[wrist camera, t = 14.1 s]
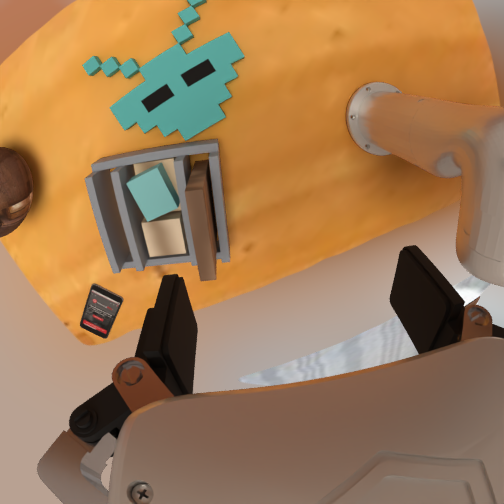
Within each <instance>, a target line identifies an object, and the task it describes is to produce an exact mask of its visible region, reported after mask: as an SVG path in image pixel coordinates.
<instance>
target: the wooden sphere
mask: <svg viewBox="0 0 504 504" xmlns="http://www.w3.org/2000/svg"><path fill="white" fill-rule="evenodd" d="M32 198H33V179H32V174H31V171H30V169H29V166H28V165H27V163H26V161H25V160H24V159H23V158H22V157H21V156H20V155H19V154H18V153H17V152H15V151H13V150H11V149H9V148H4V147H0V237H3V236H6V235H8V234H9V233H11V232H13V231H14V230H15V229H16V228H17V227H18V226H19V225H20V224H21V223H22V222H23V220H24V219H25V217H26V215H27V213H28V211H29V209H30V206H31V202H32Z"/></svg>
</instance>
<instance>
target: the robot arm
mask: <svg viewBox="0 0 504 504" xmlns="http://www.w3.org/2000/svg"><path fill="white" fill-rule="evenodd" d="M366 88H367V91H366ZM351 115H352V118H351ZM346 121H347V127H348V130H349V133H350V135H351V137H352V139H353V140H354V141H355V143H356V144H357V145H358V146H359V147H360V148H362V149H363V150H365V151H367V152H369V153H371V154H374V155H379V156H385V155H390V154H394V155H396V156H398V157H400V158H402V159H404V160H406V161H408V162H410V163H412V164H414V165H416V166H418V167H419V168H421V169H423V170H425V171H427V172H429V173H431V174H433V175H435V176H438V177H441V178H454V177H457V176H461V175H462V184H461V202H460V211H459V219H458V228H457V235H456V253H457V257H458V259H459V261H460V263H461V265H462V266H463V267H464V268H465V269H466V270H467V271H468V272H469V273H470V274H472V275H473V276H475V277H476V278H478V279H480V280H483V281H485V282H488V283H491V284H494V285H498V286H502V287H504V107H497V106H480V105H470V104H463V103H457V102H451V101H446V100H440V99H435V98H429V97H423V96H417V95H410V94H403V93H402V92H401V91H400V90H399V89H397V88H396V87H395V86H393V85H390V84H388V83H384V82H371V83H368V84H365V85H363V86H361V87H360V88H359V89H358V90H356V91H355V92H354V94H353V95H352V97H351V99H350V101H349V103H348V107H347V111H346ZM365 145H366V147H365ZM390 303H391V306H392V307H393V309H394V310H395V312H396V314H397V316H398V317H399V319H400V321H401V323H402V324H403V326H404V328H405V330H406V331H407V333H408V335H409V337H410V339H411V340H412V342H413V344H414V346H415V348H416V350H417V351H418V353H419V355H416V356H413V357H409V358H406V359H402V360H399V361H395V362H391V363H387V364H383V365H379V366H375V367H371V368H367V369H363V370H359V371H354V372H350V373H345V374H340V375H335V376H330V377H325V378H319V379H314V380H308V381H302V382H295V383H289V384H282V385H274V386H266V387H258V388H249V389H239V390H229V391H219V392H206V393H196V394H193V380H194V367H195V354H196V342H197V332H198V330H197V323H196V320H195V316H194V313H193V310H192V306H191V303H190V300H189V296H188V293H187V290H186V286H185V283H184V279H183V277H179V276H178V275H177V274H172V275H164V276H163V278H162V282H161V285H160V289H159V292H158V296H157V299H156V303H155V306H154V308H149V309H148V310H147V313H146V316H145V320H144V323H143V327H142V331H141V334H140V338H139V342H138V345H137V350H136V353H135V357H130V358H126V359H124V360H122V361H120V362H119V363H118V364H117V365H116V367H115V368H114V369H113V372H112V381H113V383H111V384H110V385H108V386H107V387H106V388H104V389H103V390H102V391H100V392H99V393H97V394H96V395H94V396H93V397H92V398H90V399H89V400H87V401H86V402H84V403H83V404H82V405H80V406H79V407H77V408H76V409H75V410H74V411H73V412H72V414H71V416H70V420H69V426H70V428H69V430H68V431H67V432H66V431H63V432H62V433H61V434H60V436H59V437H58V438H57V439H56V441H55V442H54V443H53V444H52V445H51V447H50V448H49V449H48V451H47V452H46V453H45V454H44V455H43V457H42V458H41V459H40V461H39V463H38V467H37V472H38V475H39V477H40V479H41V480H42V481H43V482H44V483H45V485H46V486H47V487H48V488H49V489H50V490H51V491H52V492H53V493H54V494H55V495H56V497H58V498H59V500H60V501H61V502H62V503H63V504H504V328H502V327H499V326H497V325H494V324H492V317H491V315H490V313H489V312H488V311H487V310H486V309H485V308H484V307H482V306H479V305H469V306H467V307H466V308H465V307H464V306H463V305H464V303H465V301H464V300H463V299H462V298H461V296H460V295H459V294H458V293H457V291H456V290H455V289H454V288H453V287H452V285H451V284H450V283H449V282H448V281H447V279H446V278H445V277H444V276H443V275H442V273H441V272H440V271H439V270H438V269H437V268H436V267H435V266H434V264H433V263H432V262H431V261H430V260H429V259H428V258H427V256H426V255H425V254H424V253H423V252H422V251H421V250H420V249H419V248H418V247H417V246H416V245H413V246H407V247H404V248H403V250H401V251H400V254H399V259H398V264H397V268H396V273H395V277H394V281H393V286H392V290H391V294H390ZM109 457H113V461H112V468H111V475H110V483H109V491H108V490H107V489H106V488H105V487H104V486H103V485H102V482H101V474H102V472H103V470H104V468H105V467H106V466H107V464H106V461H107V460H108V459H109ZM148 484H149V485H148Z"/></svg>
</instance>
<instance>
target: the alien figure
mask: <svg viewBox="0 0 504 504" xmlns="http://www.w3.org/2000/svg"><path fill="white" fill-rule="evenodd" d="M187 1H188V3H189V4H190V5H191V6H190V7H188V8H186V9H184V10H183V11H181V12H179V13H178V15H179V16H180V18H181V19H182V21H183V22H184V25H182V26H180V27H179V28H177V29H175V30H174V31H172V32H171V33H172V34H173V35H174V37H175V38H176V40H177V41H178V44H176V45H175V46H173V47H171V48H170V49H168V50H166V51H165V52H163V53H162V54H160V55H158V56H157V57H155V58H154V59H152V60H151V61H149V62H148V63H146V64H145V65H143V66H142V67H141V68H140V67H139V65H138V64H137V62H136V61H135V59H133V58H130V59H129V60H128V61H126V62H125V63H124V64H122V65H120V63H119V62H118V60H117V59H116V58H115V57H111V58H109V59H108V60H107V61H105V62H104V63H103V64H102V62H101V61H100V59H99V58H98V57H97V56H93V57H91V58H90V59H89V60H88V61H87V62H86V63H84V64H83V65H82V66H83V67H84V69H85V71H86V72H87V74H88V75H90V76H93V75H95V74H96V73H97V72H98V71H99V70H101V69H102V70H103V72H104V73H105V75H106V76H107V77H111V76H113V75H114V74H115V73H116V72H118V71H119V70H121V72H122V73H123V75H124V76H125V78H131V77H132V76H134V75H135V74H136V73H138V72H139V71H140V72H141V74H142V75H143V77H144V78H145V80H146V81H144V82H143V83H141V84H140V85H139V86H137V87H136V88H134V89H133V90H132V91H130V92H129V93H128V94H126V95H125V96H124V97H122V98H121V99H120V100H119V101H117V102H116V103H115V104H113V105H112V106H111V107H110V109H111V111H112V112H113V114H114V115H115V117H116V118H117V120H118V121H119V123H120V124H121V126H122V127H123V129H124V130H127V129H129V128H130V127H131V126H133V125H134V124H135V123H138V125H139V126H140V128H141V129H142V131H143V132H144V133H146V132H148V131H149V130H151V129H152V128H153V127H155V126H156V125H157V126H158V128H159V129H160V131H161V132H162V134H163V135H164V137H166V136H167V135H169V134H170V133H172V132H173V131H175V130H176V129H178V130H179V132H180V133H181V135H182V136H183V138H184V139H185V141H186V140H188V139H190V138H191V137H193V136H195V135H196V134H198V133H199V132H201V131H203V130H204V129H206V128H208V127H210V126H211V125H213V124H215V123H216V122H218V121H220V120H222V119H223V118H225V117H226V116H225V114H224V113H223V111H222V109H221V108H220V106H219V103H221V102H223V101H225V100H227V99H228V98H230V97H232V96H231V94H230V93H229V91H228V89H227V88H226V86H225V83H227V82H229V81H231V80H233V79H235V78H237V77H238V75H237V74H236V72H235V70H234V69H233V67H232V65H231V64H233V63H235V62H237V61H239V60H241V59H243V58H244V57H245V56H244V55H243V53H242V52H241V50H240V48H239V47H238V45H237V44H236V42H235V41H234V39H233V37H232V36H231V34H230V33H229V32H228V33H226V34H224V35H222V36H220V37H218V38H216V39H214V40H212V41H210V42H208V43H206V44H204V45H203V46H201V47H199V48H197V49H195V50H194V51H192V52H190V53H188V54H186V53H185V51H184V50H183V48H182V47H181V44H183V43H185V42H186V41H188V40H190V39H192V38H193V35H192V33H191V32H190V30H189V29H188V27H187V26H188V25H190V24H192V23H194V22H196V21H198V20H200V17H199V15H198V14H197V12H196V11H195V10H194V8H195V7H197V6H199V5H201V4H203V3H206V0H187Z"/></svg>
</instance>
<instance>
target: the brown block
mask: <svg viewBox="0 0 504 504" xmlns="http://www.w3.org/2000/svg"><path fill="white" fill-rule="evenodd" d="M185 197H186V204H187V210H188V216H189V221H190V227H191V233H192V239H193V244H194V249H195V255H196V260H197V265H198V270H199V275H200V280H201V281H209V280H216V253H217V226H216V219H215V211H214V203H213V195H212V186H211V178H210V169H209V160H202V161H195V164H194V167H193V169H192V172H191V175H190V178H189V180H188V183H187V186H186V189H185Z"/></svg>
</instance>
